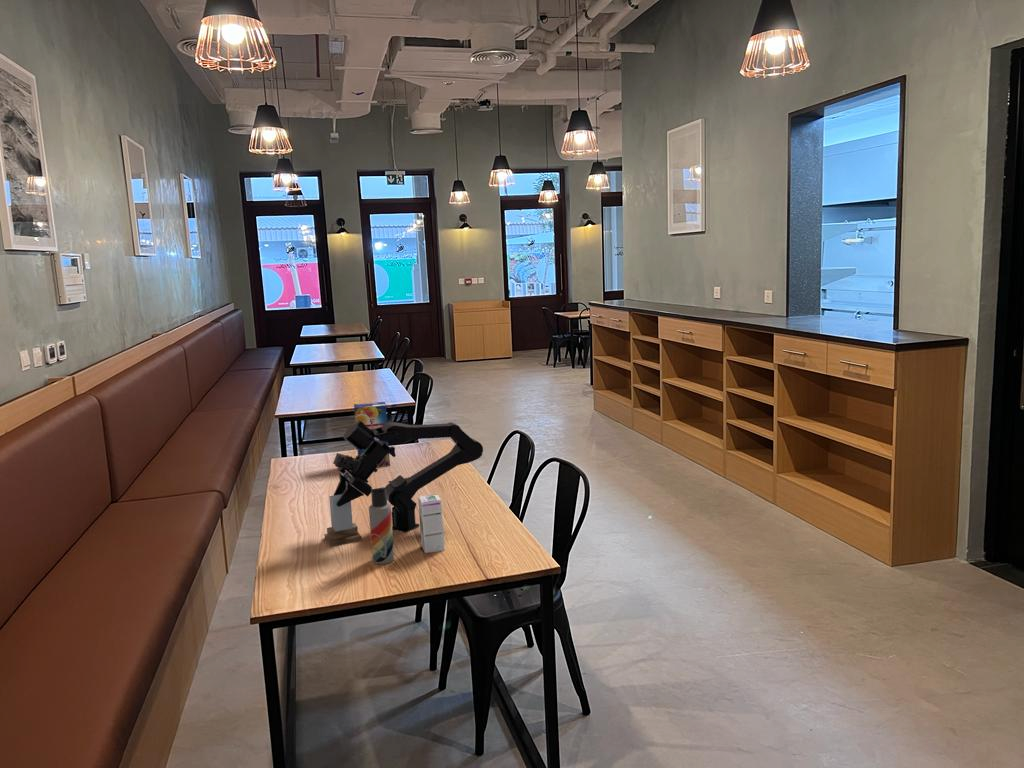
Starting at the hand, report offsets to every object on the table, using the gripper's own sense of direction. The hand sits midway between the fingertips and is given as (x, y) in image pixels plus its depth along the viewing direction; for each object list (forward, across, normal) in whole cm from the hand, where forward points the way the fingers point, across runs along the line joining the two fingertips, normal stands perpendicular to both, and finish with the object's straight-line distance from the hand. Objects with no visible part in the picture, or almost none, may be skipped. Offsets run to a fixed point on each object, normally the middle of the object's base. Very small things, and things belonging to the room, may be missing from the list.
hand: (335, 502), depth 212 cm
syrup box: (-7, +20, +23) cm, 31 cm away
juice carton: (-13, -74, +29) cm, 81 cm away
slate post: (+4, 0, +6) cm, 8 cm away
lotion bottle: (+3, +21, +13) cm, 25 cm away
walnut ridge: (+7, 0, +9) cm, 11 cm away
